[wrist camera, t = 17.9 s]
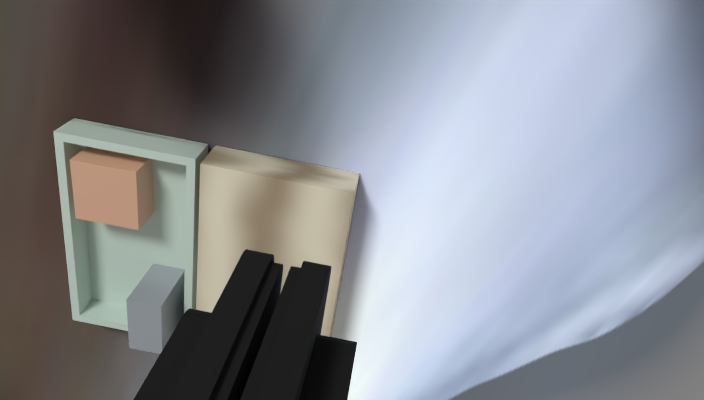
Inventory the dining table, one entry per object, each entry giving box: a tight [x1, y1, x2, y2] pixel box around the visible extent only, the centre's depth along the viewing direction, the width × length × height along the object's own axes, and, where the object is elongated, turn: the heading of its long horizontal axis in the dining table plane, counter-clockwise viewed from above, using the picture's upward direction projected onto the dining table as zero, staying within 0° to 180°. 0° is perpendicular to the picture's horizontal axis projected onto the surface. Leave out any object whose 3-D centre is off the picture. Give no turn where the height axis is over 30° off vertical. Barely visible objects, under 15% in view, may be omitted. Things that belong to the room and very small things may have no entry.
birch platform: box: [196, 146, 360, 337], centre depth 43 cm, size 10×16×3 cm, turn 171°
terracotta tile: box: [70, 146, 154, 230], centre depth 41 cm, size 4×4×2 cm
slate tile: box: [126, 263, 185, 354], centre depth 44 cm, size 4×4×2 cm
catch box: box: [54, 118, 208, 331], centre depth 43 cm, size 10×16×2 cm, turn 171°
